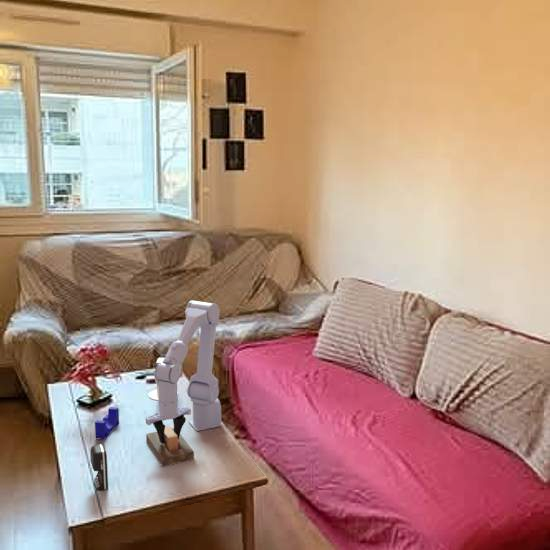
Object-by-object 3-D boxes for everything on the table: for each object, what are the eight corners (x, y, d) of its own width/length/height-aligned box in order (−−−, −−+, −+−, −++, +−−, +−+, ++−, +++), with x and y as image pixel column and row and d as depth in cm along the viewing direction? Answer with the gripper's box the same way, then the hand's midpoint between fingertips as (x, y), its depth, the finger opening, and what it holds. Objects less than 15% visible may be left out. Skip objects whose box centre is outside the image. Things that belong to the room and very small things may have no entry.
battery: (91, 480, 171) (89, 444, 169) (104, 477, 173) (102, 441, 171) (94, 492, 165) (92, 455, 163) (108, 489, 167) (106, 452, 164)
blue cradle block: (106, 422, 208) (106, 406, 207) (119, 423, 207) (118, 407, 206) (91, 438, 196) (90, 421, 195) (104, 439, 196) (103, 422, 195)
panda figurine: (175, 401, 226) (174, 364, 223) (145, 401, 226) (144, 363, 223) (180, 389, 237) (179, 353, 234) (152, 388, 238) (151, 353, 235)
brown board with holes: (175, 434, 199) (175, 427, 199) (194, 459, 184) (193, 451, 183) (146, 440, 195) (146, 433, 194) (162, 466, 179) (162, 458, 179)
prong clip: (169, 441, 194) (168, 424, 193) (178, 453, 187) (177, 435, 185) (160, 444, 193) (159, 426, 192) (169, 455, 185) (168, 438, 184)
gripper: (183, 390, 193) (184, 429, 196) (141, 400, 185) (142, 440, 188) (193, 398, 187) (194, 437, 190) (150, 408, 179) (151, 449, 182)
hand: (169, 439), depth 189 cm, fingers open, 4 cm apart
